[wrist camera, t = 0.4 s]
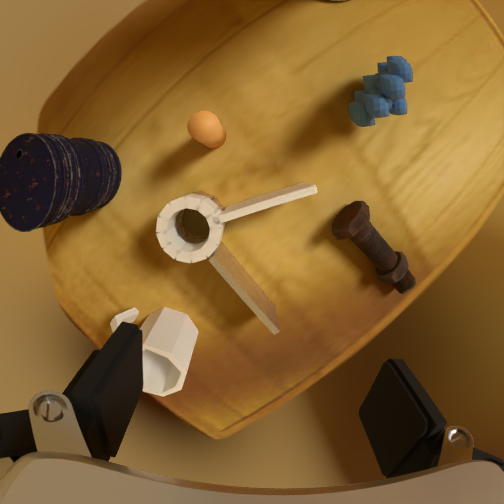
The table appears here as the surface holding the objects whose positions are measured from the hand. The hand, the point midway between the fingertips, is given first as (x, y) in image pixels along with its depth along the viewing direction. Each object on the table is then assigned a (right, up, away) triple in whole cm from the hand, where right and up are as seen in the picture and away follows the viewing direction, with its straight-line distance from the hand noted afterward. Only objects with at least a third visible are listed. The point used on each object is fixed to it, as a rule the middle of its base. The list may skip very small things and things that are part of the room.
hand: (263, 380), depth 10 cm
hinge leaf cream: (-2, +10, +26) cm, 28 cm away
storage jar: (-22, +15, +25) cm, 37 cm away
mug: (-14, -6, +31) cm, 34 cm away
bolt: (+17, +5, +28) cm, 33 cm away
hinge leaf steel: (-3, +4, +28) cm, 28 cm away
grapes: (+15, +24, +23) cm, 36 cm away
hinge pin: (-5, +19, +24) cm, 31 cm away
